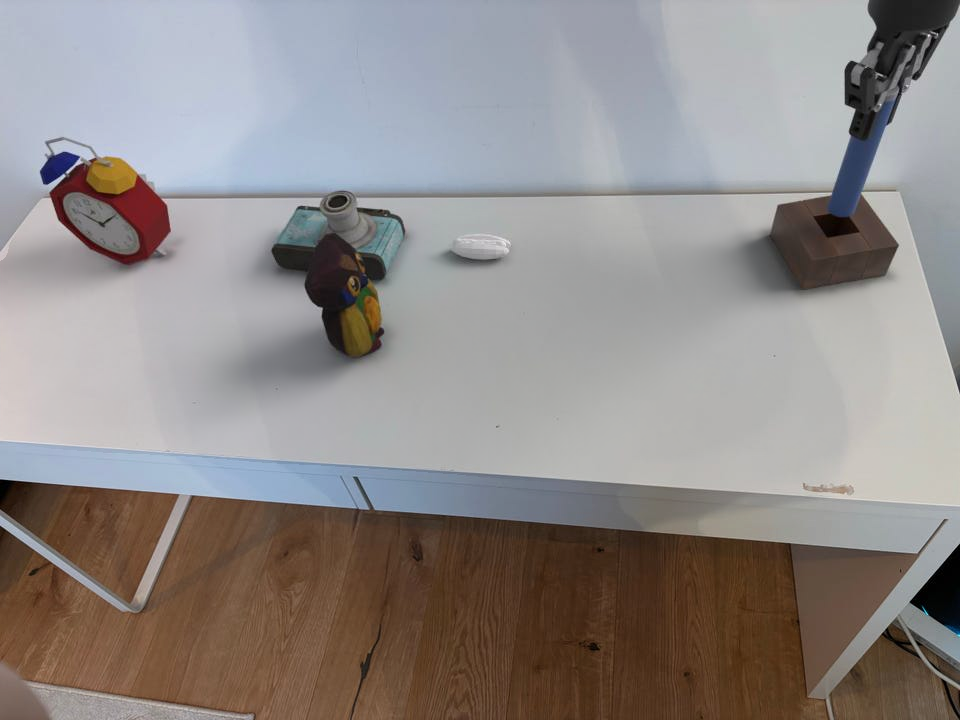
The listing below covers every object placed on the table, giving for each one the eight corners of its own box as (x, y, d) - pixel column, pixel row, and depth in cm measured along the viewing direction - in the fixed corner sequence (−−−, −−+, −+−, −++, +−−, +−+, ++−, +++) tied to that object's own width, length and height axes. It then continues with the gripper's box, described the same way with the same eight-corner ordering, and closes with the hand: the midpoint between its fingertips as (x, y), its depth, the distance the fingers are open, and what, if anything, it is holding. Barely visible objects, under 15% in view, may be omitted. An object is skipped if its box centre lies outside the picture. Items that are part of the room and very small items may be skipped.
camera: (254, 216, 95) (286, 169, 101) (278, 268, 103) (306, 221, 109) (370, 227, 91) (396, 177, 97) (386, 280, 99) (409, 231, 104)
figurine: (382, 372, 89) (351, 287, 77) (328, 373, 90) (289, 288, 78) (394, 312, 95) (367, 225, 83) (343, 314, 96) (309, 227, 84)
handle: (847, 199, 88) (890, 76, 75) (859, 215, 86) (905, 92, 73) (823, 203, 88) (861, 82, 75) (834, 219, 86) (875, 97, 73)
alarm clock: (85, 259, 109) (2, 146, 94) (119, 221, 114) (45, 108, 99) (166, 272, 105) (93, 157, 90) (198, 232, 110) (134, 116, 94)
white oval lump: (455, 245, 102) (453, 230, 99) (512, 248, 100) (510, 232, 98) (451, 261, 100) (448, 246, 97) (508, 264, 98) (506, 248, 96)
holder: (847, 220, 96) (858, 190, 92) (885, 275, 89) (899, 244, 85) (769, 234, 96) (777, 204, 92) (802, 290, 89) (811, 260, 85)
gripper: (919, 5, 61) (859, 174, 74) (1014, -56, 65) (941, 115, 78) (840, -21, 65) (797, 144, 78) (934, -77, 69) (878, 89, 82)
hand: (869, 128), depth 78 cm, fingers closed on handle, 3 cm apart
